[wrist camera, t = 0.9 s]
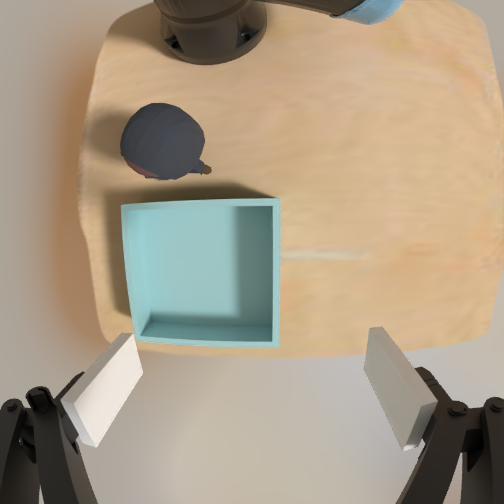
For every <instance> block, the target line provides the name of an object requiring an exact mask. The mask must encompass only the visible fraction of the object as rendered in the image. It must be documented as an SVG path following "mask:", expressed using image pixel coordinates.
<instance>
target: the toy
mask: <svg viewBox="0 0 504 504" xmlns="http://www.w3.org/2000/svg"><path fill="white" fill-rule="evenodd" d="M204 143H205V138H204V133H203V130H202V129H201V127H200V126H199V124H198V123H197V122H196V121H195V120H194V119H193V118H192V117H191V116H190V115H188V114H187V113H186V112H184V111H183V110H182V109H180V108H179V107H176V106H173V105H170V104H166V103H151V104H149V105H146V106H144V107H142V108H140V109H139V110H138V111H137V112H136V113H135V114H134V115H133V116H132V117H131V118H130V120H129V121H128V123H127V125H126V127H125V129H124V131H123V134H122V137H121V144H120V148H121V155H122V156H123V157H124V158H125V161H126V162H127V164H128V165H129V167H131V168H132V169H133V170H134V171H136V172H137V173H139V174H141V175H144V176H145V178H150V179H153V180H157V181H163V180H169V179H173V180H175V179H178V178H180V177H183V176H185V175H186V174H188V173H200V174H201V175H202V173H204V174H210V173H211V171H212V169H211V167H209V166H207V165H205V164H204V162H202V161H201V160H200V159H199V158H200V156H201V153H202V150H203V147H204Z"/></svg>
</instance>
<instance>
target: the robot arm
mask: <svg viewBox="0 0 504 504" xmlns="http://www.w3.org/2000/svg"><path fill="white" fill-rule="evenodd" d="M403 1H404V0H154V2H155V3H156V5H157V6H158V8H159V9H160V11H161V35H162V38H163V40H164V42H165V44H166V45H167V47H168V48H169V50H170V51H171V52H172V53H173V54H174V55H175V56H176V57H178V58H179V59H181V60H183V61H186V62H189V63H193V64H199V65H213V64H220V63H225V62H229V61H232V60H234V59H237V58H239V57H241V56H243V55H245V54H246V53H248V52H249V51H251V50H252V49H253V48H254V47H255V46H256V45H257V44H258V43H259V42H260V41H261V39H262V38H263V36H264V34H265V31H266V27H267V13H266V9H265V6H264V4H263V2H268V3H274V4H281V5H286V6H292V7H297V8H302V9H306V10H311V11H315V12H319V13H323V14H327V15H329V16H330V17H332V18H337V19H338V18H343V19H347V20H351V21H354V22H358V23H361V24H367V25H371V24H375V23H379V22H382V21H384V20H386V19H387V18H388V17H390V16H391V15H392V14H393V13H394V12H395V11H396V10H397V9H398V8H399V7H400V5H401V4H402V3H403ZM364 370H365V373H366V375H367V377H368V379H369V380H370V383H371V385H372V387H373V389H374V391H375V393H376V395H377V397H378V399H379V401H380V404H381V405H382V408H383V410H384V412H385V414H386V416H387V418H388V420H389V423H390V425H391V427H392V429H393V431H394V434H395V436H396V438H397V440H398V442H399V445H400V447H401V449H402V451H405V450H409V449H412V448H415V447H418V446H419V444H420V442H421V439H422V438H423V440H424V442H425V446H424V448H423V450H422V452H421V454H420V456H419V457H418V461H417V464H416V466H415V468H414V470H413V472H412V474H411V476H410V478H409V480H408V482H407V484H406V486H405V488H404V489H403V491H402V493H401V495H400V497H399V499H398V500H397V502H396V504H443V501H444V499H445V496H446V494H447V491H448V489H449V486H450V483H451V481H452V478H453V474H454V472H455V469H456V465H457V462H458V459H459V456H460V453H461V452H462V453H463V455H462V459H463V463H462V490H461V502H460V504H504V399H501V398H499V397H492V398H489V399H487V400H486V402H485V404H484V406H483V407H481V408H468V406H467V405H466V404H464V403H463V402H460V401H452V399H451V398H450V397H449V396H448V394H447V393H446V392H445V390H444V389H443V388H442V386H441V385H440V384H439V383H438V381H437V380H436V379H435V377H434V376H433V375H432V374H431V372H430V371H428V370H426V369H425V368H423V367H418V368H414V367H413V366H412V365H411V363H410V362H409V361H408V359H407V358H406V357H405V356H404V354H403V353H402V351H401V350H400V349H399V347H398V346H397V345H396V344H395V342H394V341H393V340H392V338H391V337H390V336H389V335H388V333H387V332H386V331H385V329H384V328H383V327H374V328H370V329H369V337H368V344H367V352H366V358H365V365H364ZM142 373H143V370H142V367H141V364H140V359H139V356H138V352H137V348H136V344H135V340H134V335H133V334H132V333H121V334H120V335H119V336H118V337H117V338H116V339H115V341H114V342H113V343H112V344H111V345H110V346H109V347H108V348H107V349H106V350H105V351H104V352H103V353H102V354H101V356H100V357H99V358H98V359H97V360H96V361H95V362H94V363H93V364H92V365H91V366H90V368H89V369H88V370H87V371H86V372H81V373H80V374H78V375H76V376H75V377H74V378H73V379H72V380H71V381H70V383H68V384H67V385H66V387H65V388H64V389H63V390H62V391H61V392H60V393H59V394H58V395H57V396H56V398H55V399H53V397H52V395H51V393H50V391H49V389H48V388H46V387H43V386H39V387H35V388H33V389H31V390H29V391H28V392H27V394H26V399H27V401H28V403H29V405H30V407H31V408H24V406H23V404H22V402H21V401H20V400H19V399H10V400H7V401H6V402H5V403H4V404H3V405H2V407H1V410H0V504H39V489H40V485H41V491H42V495H43V500H44V504H98V503H97V500H96V498H95V495H94V492H93V490H92V487H91V484H90V482H89V478H88V475H87V473H86V469H85V466H84V463H83V460H82V456H81V453H80V449H79V446H78V444H77V442H76V438H77V437H78V435H79V436H80V438H81V440H82V441H83V443H84V444H87V445H90V446H94V447H97V446H98V444H99V443H100V441H101V439H102V438H103V436H104V434H105V433H106V431H107V429H108V428H109V426H110V424H111V423H112V421H113V420H114V418H115V416H116V415H117V413H118V412H119V410H120V408H121V407H122V405H123V404H124V402H125V400H126V399H127V397H128V396H129V394H130V392H131V391H132V389H133V388H134V386H135V385H136V383H137V381H138V380H139V378H140V377H141V375H142ZM19 439H20V442H19Z"/></svg>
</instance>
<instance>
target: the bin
mask: <svg viewBox="0 0 504 504" xmlns="http://www.w3.org/2000/svg"><path fill="white" fill-rule="evenodd" d="M121 221H122V238H123V251H124V262H125V271H126V280H127V288H128V296H129V303H130V310H131V316H132V323H133V329H134V334H135V340H136V341H143V342H153V343H165V344H178V345H194V346H216V347H279V321H280V198H261V199H213V200H187V201H167V202H150V203H135V204H122V205H121Z"/></svg>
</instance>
